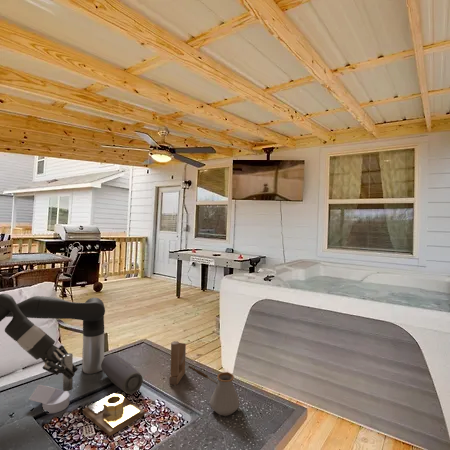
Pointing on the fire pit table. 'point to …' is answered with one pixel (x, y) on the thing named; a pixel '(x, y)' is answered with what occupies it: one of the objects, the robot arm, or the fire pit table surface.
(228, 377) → the coffee pot
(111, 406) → the hinge
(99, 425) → the board
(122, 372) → the bluetooth speaker
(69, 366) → the pin
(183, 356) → the wooden block
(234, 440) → the fire pit table surface
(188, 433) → the fire pit table surface
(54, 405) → the wedge on round base
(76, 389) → the fire pit table surface
